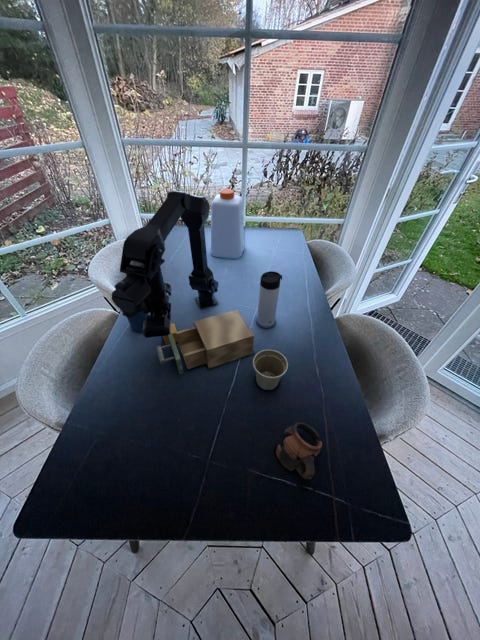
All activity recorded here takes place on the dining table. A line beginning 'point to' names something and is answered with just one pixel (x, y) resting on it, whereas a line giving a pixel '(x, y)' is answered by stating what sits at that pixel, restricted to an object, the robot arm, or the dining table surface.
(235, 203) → the plastic bottle
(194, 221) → the robot arm
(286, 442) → the pottery mug
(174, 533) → the dining table surface
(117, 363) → the dining table surface
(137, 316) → the soda can
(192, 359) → the drawer
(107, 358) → the dining table surface
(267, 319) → the travel mug
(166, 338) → the block
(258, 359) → the flower pot
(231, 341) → the cabinet
